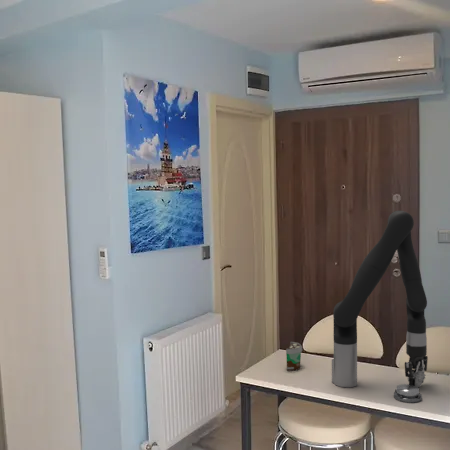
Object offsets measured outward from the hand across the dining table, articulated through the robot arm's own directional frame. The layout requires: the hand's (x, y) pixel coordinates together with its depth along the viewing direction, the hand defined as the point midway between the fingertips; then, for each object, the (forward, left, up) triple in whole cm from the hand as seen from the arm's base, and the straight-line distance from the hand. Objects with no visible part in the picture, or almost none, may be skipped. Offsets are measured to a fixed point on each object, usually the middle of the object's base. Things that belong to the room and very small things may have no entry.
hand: (416, 384), depth 213 cm
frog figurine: (0, 0, -1) cm, 1 cm away
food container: (-49, -15, -1) cm, 51 cm away
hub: (+3, -12, -1) cm, 12 cm away
